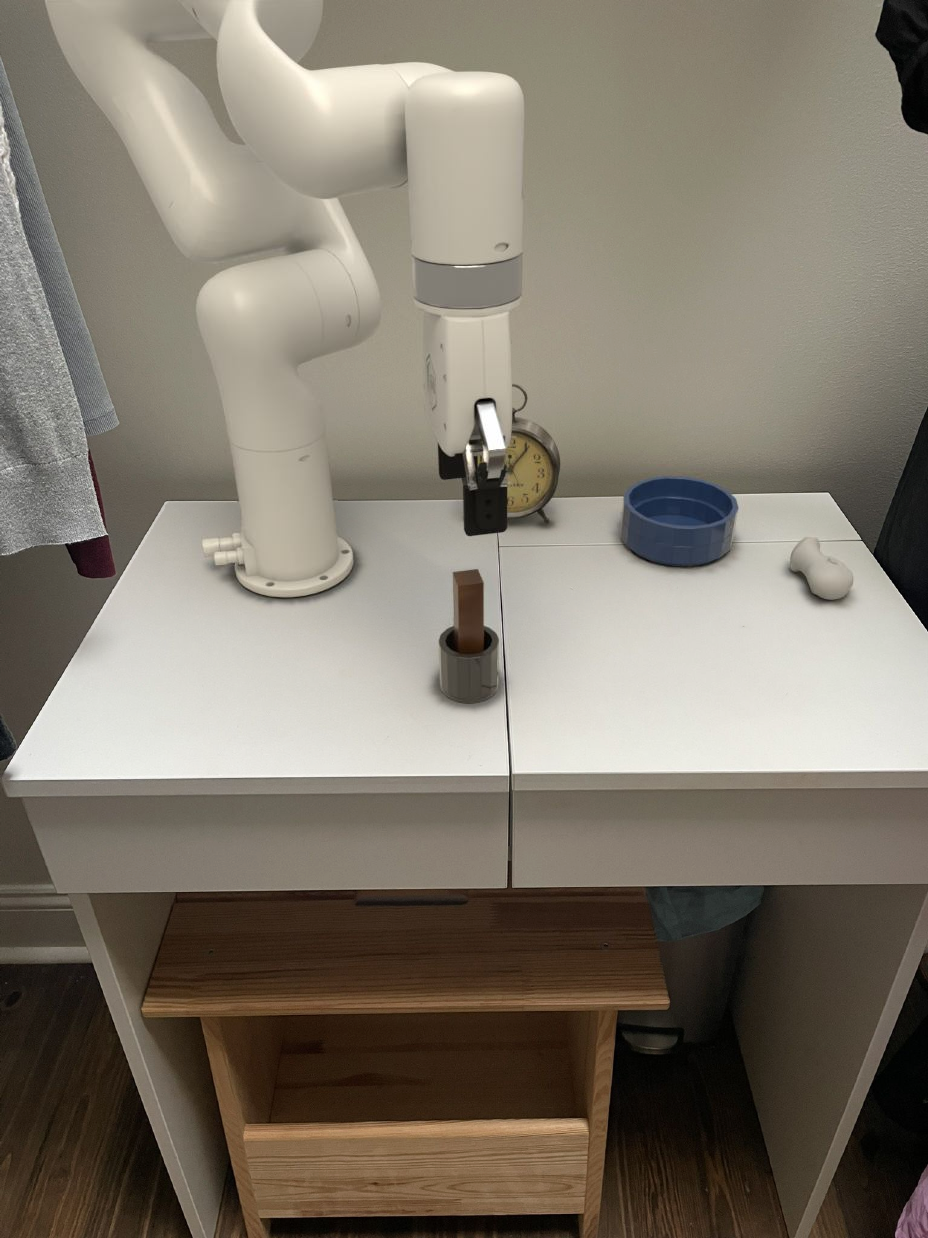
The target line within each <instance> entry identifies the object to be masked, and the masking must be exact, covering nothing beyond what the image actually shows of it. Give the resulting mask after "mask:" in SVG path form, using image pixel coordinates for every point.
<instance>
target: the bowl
mask: <svg viewBox="0 0 928 1238" xmlns="http://www.w3.org/2000/svg"><path fill="white" fill-rule="evenodd" d="M621 507H622V508H621V509H622V510H621V517H620V518H621V519H620V529H619V531H620V539H621V540H622V541H623V543H624V545H625V546H626V547H627V548H629V549H630V550H631V551H632V552H633V553H635V554H636V555H638V556H639V557H641V558H642V559H645V560H647V561H650V562H653V563H656V564H659V565H665V566H672V567H697V566H701V565H705V564H709V563H711V562H713V561H716V560H718V559H720V558H722V557H723V556H724V555H726V554H727V553H728V552H729V551H730V550H731V547H732V545H733V542H734V537H735V531H736V525H737V521H738V514H739V505H738V501H737V498H736V497H735V496H734V495H733V494H732V493H731V492H730V491H729V490H727V489H725V488H723V487H722V486H720V485H718V484H716V483H714V482H710V481H708V480H704V479H700V478H695V477H689V476H684V475H683V476H681V475H678V476H677V475H664V476H663V475H662V476H654V477H650V478H646V479H643V480H642V479H641V480H639V481H636V482H635V483H633V484H632V485H631V486H629V487H628V488H627V489H626V491H625V492H624V494H623V496H622V506H621Z"/></svg>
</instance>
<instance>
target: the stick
mask: <svg viewBox="0 0 928 1238" xmlns="http://www.w3.org/2000/svg"><path fill="white" fill-rule="evenodd" d="M452 598H453V599H452V600H453V601H452V605H453V607H452V608H453V609H452V610H453V626H454V651H455V652H457V653H460V654H469V655H470V654H477V653H480V652H483V651H484V626H485V582H484V579H483V578H482V575H481V573H480V571H479V569H478V568H474V569H467V570H460V571H453V572H452Z"/></svg>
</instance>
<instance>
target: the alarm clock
mask: <svg viewBox="0 0 928 1238" xmlns="http://www.w3.org/2000/svg"><path fill="white" fill-rule="evenodd" d="M513 387H514V388H516V389H518V390H520V391H521V392H522V394H523V396H524V401H523V403H522V406H521V407H519V408H517V409H515V408H514V407H513V406H512V432H511V442H510V445H509V446H508V447H507V448H506V459H505V464H506V465H507V468H506V470H507V479H508V484H507V520H508V519H509V520H515V519H516V520H517V519H523V518H526V517H529V516H532V515H535V514H538V515H539V517H540V518H542V520H543V521H544V523H545V524H549V523H550V518H549V517H547V515H546V512H545V511H544V509H543V508H544V507H545V506H547V504H548V503H549V502H551V499H552V498H553V497H554V495H555V493H556V490H557V487H558V483H559V476H560V471H561V457H560V451H559V449H558V446H557V443H556V442H555V440H554V439H553V437H552V436H551V434H550V433H548V431H547V430H546V429H545V428H543V427H542V426H541V425H540V424H538V423H536V422H534V421H532V420H531V419H530V420H529V419H527V418H523V417H518V416H517V417H516V413H519V412H520V411H522V410H524V409H525V407H526V405H527V403H528V399H529V398H528V394H527V391H526V389H524V387H523V386H521V385H519V384H517V383H512V388H513ZM480 443H482V440H481V439H477V444H480ZM481 462H484V459H483V455H481V456H478V465H479V463H481ZM461 482H462V486H463V485H467V479H466V478H461Z"/></svg>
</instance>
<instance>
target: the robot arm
mask: <svg viewBox="0 0 928 1238" xmlns="http://www.w3.org/2000/svg"><path fill="white" fill-rule="evenodd" d="M44 4H45V8H46V11H47V15H48V18H49V22H50V26H51V28H52V31H53V33H54V36H55V38H56V41H57V43H58V46H59V48H60V50H61V52H62V54H63V57H65V59H66V61H67V63H68V65H69V67H70V68H71V70H72V72H73V74H74V75H75V76H76V78H77V80H78V81H79V83H80V85H82V87H83V88H84V90H85V91H86V92H87V93H88V95H89V96H90V97H91V99H92V100H93V101H94V103H95V104H96V105H97V106H98V108H99V109H100V110H101V111H102V113H103V114H104V115H105V117H106V118H107V119H108V121H109V122H110V124H111V125H112V126H113V128H114V129H115V130H116V132H117V134H118V136H119V137H120V139H121V141H122V143H123V144H124V146H125V149H126V150H127V153H128V155H129V157H130V160H131V161H132V163H133V165H134V167H135V169H136V171H137V173H138V175H139V177H140V178H141V181H142V184H143V185H144V187H145V189H146V191H147V193H148V195H149V197H150V199H151V201H152V203H153V205H154V208H155V209H156V211H157V213H158V215H159V217H160V219H161V221H162V223H163V225H164V227H165V228H166V230H167V232H168V234H169V236H170V238H171V239H172V241H173V242H174V244H175V246H176V247H177V248H178V250H179V251H180V253H181V254H182V255H183V256H184V257H185V258H187V259H188V260H190V261H191V262H194V263H196V264H203V265H215V264H222V263H230V262H235V261H240V260H244V259H249V258H254V257H259V256H263V255H268V254H273V253H279V252H283V253H284V254H285V255H278V256H273V257H269V258H263V259H259V260H255V261H251V262H246V263H241V264H238V265H234V266H231V267H228V268H226V269H223V270H222V271H220V272H218V273H216V274H214V275H213V276H211V278H209V279H208V280H207V281H206V282H205V283H204V284H203V285H202V287H201V289H200V290H199V293H198V295H197V298H196V303H195V315H196V321H197V326H198V330H199V332H200V337H201V338H202V342H203V344H204V348H205V350H206V352H207V355H208V356H207V357H208V358H209V361H210V364H211V367H212V370H213V373H214V376H215V380H216V384H217V388H218V393H219V396H220V401H221V406H222V410H223V415H224V421H225V427H226V433H227V438H228V444H229V450H230V456H231V462H232V467H233V475H234V480H235V486H236V492H237V497H238V504H239V510H240V517H241V523H240V532H233V533H232V534H231V536H227V537H226V536H225V537H210V538H202V539H201V545H202V552H203V557H204V558H210V557H213V558H214V564H215V566H223V565H228V564H234V571H235V576H236V579H237V580H238V582H239V583H240V584H241V585H242V586H243V587H244V588H245V589H248V590H249V591H251V592H253V593H257V594H258V595H262V596H267V597H273V598H296V597H297V598H298V597H305V596H309V595H314V594H318V593H321V592H324V591H326V590H328V589H330V588H332V587H334V586H336V585H338V584H339V583H340V582H342V581H344V579H345V578H346V577H348V575H349V574H350V573H351V571H352V569H353V567H354V552H353V550H352V547H351V545H350V544H349V543H348V542H347V541H346V540H344V539H343V538H342V537H340V536H338V535H337V527H336V516H335V508H334V507H335V505H334V499H333V498H334V497H333V488H332V477H331V468H330V459H329V458H330V457H329V456H330V455H329V449H328V438H327V428H326V420H325V413H324V409H323V405H322V403H321V400H320V399H319V397H318V395H317V394H316V392H315V391H314V390H313V389H312V388H311V387H310V386H309V385H308V384H307V383H306V382H305V381H304V380H303V379H302V378H301V377H300V375H299V373H298V367H299V366H300V365H302V364H304V363H308V362H310V361H313V360H314V359H317V358H321V357H324V356H327V355H331V354H335V353H338V352H341V351H345V350H348V349H351V348H354V347H357V346H360V345H362V344H364V343H365V342H367V341H368V340H370V339H371V338H372V337H373V336H374V335H375V334H376V332H377V330H378V328H379V326H380V323H381V318H382V299H381V294H380V293H381V292H380V290H379V285H378V282H377V280H376V277H375V274H374V272H373V269H372V267H371V264H370V263H369V261H368V258H367V256H366V254H365V252H364V250H363V248H362V246H361V244H360V242H359V240H358V237H357V236H356V233H355V231H354V229H353V227H352V225H351V223H350V220H349V219H348V217H347V215H346V212H345V210H344V208H343V206H342V204H341V201H340V200H339V198H345V197H350V196H356V195H361V194H364V193H371V192H376V191H381V190H387V189H399V188H404V187H408V188H407V189H408V206H409V207H408V209H409V230H410V231H409V232H410V249H411V269H412V270H411V271H412V289H413V304H414V307H415V308H416V309H418V310H419V311H423V329H422V330H423V333H422V334H423V338H422V340H423V341H422V342H423V345H422V348H423V351H422V353H423V355H422V357H423V410H424V414H425V418H426V420H427V423H428V425H429V427H430V429H431V432H432V433H433V435H434V437H435V440H436V441H437V461H438V462H437V463H438V476H439V478H440V479H441V480H443V481H448V480H456V479H462V478H466V479H467V485H463V484H462V506H463V507H462V510H463V531H464V533H465V535H466V536H467V537H477V536H484V535H493V534H500V533H505V532H506V531H507V529H508V519H507V484H508V479H507V470H506V468H507V465H506V464H505V459H506V448H507V447H508V446H509V445H510V442H511V432H512V407H513V387H512V384H513V369H512V365H513V364H512V339H511V325H510V324H511V322H510V312H511V311H513V310H514V309H517V308H518V307H519V306H520V305H521V304H522V303H523V255H524V253H523V238H524V237H523V236H524V235H523V234H524V232H523V231H524V230H523V229H524V173H525V172H524V167H525V166H524V165H525V163H524V162H525V161H524V160H525V99H524V98H525V97H524V93H523V90H522V87H521V86H520V84H519V82H518V81H517V80H516V79H515V78H513V77H512V76H509V75H508V74H505V73H501V72H500V73H499V72H492V71H454V70H452V69H449V68H447V67H444V66H441V65H438V64H434V63H430V62H424V61H423V62H421V61H407V62H396V63H386V64H381V63H375V64H374V63H373V64H363V65H350V66H340V67H330V68H322V69H313V70H311V69H307V68H305V67H303V66H302V65H300V64H298V63H300V61H302V59H304V57H305V56H306V54H307V53H308V51H310V49H311V47H312V45H313V44H314V42H315V40H316V38H317V35H318V33H319V31H320V26H321V24H322V18H323V12H324V11H323V10H324V0H44ZM209 39H210V40H212V39H213V40H215V41H216V42H217V43H216V55H215V56H216V57H215V58H216V71H217V72H216V73H217V79H218V85H219V89H220V93H221V96H222V100H223V103H224V106H225V108H226V112H227V115H228V117H229V119H230V122H231V124H232V125H233V127H234V130H235V131H236V133H237V135H238V136H239V138H240V139H241V140H242V142H243V143H244V144H239V143H235V142H233V141H231V140H230V139H229V138H228V137H227V136H226V135H225V133H224V131H223V130H222V128H221V126H220V124H219V123H218V121H217V119H216V117H215V114H214V112H213V110H212V108H211V106H210V104H209V102H208V100H207V99H206V97H205V96H204V94H203V93H202V92H201V91H200V89H199V88H198V87H197V86H196V85H195V84H194V83H193V82H192V81H191V80H190V79H189V78H188V77H187V76H186V75H185V74H184V73H183V72H182V71H180V69H178V68H177V67H176V66H175V65H173V64H172V63H171V62H169V61H168V60H166V59H165V58H163V57H162V56H161V55H159V54H158V53H156V52H155V51H154V50H152V48H151V47H150V46H149V44H148V43H157V42H158V43H159V42H177V41H193V40H195V41H196V40H209ZM477 439H481V440H482V443H480V444H477ZM481 455H483V459H484V462H481V463H479V465H478V456H481Z"/></svg>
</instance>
